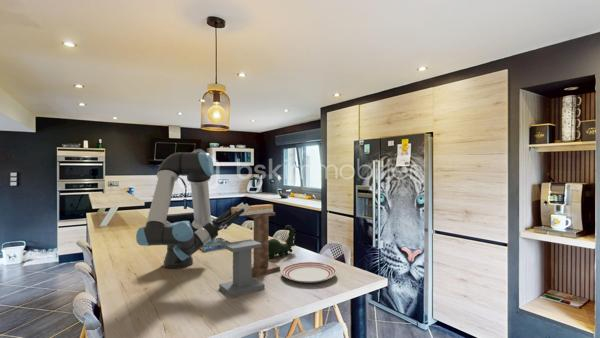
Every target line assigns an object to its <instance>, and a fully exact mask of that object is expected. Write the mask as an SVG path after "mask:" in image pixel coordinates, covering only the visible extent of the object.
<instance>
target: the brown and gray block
mask: <svg viewBox="0 0 600 338" xmlns="http://www.w3.org/2000/svg"><path fill="white" fill-rule="evenodd" d="M248 206H249V207H250V208H249V209H248V210H246V211H245V212H244V213H242V214H241V215H240V217H242V216H246V215H253V214H263V213H272V212H274V204H270V203H269V204H255V205H248ZM241 207H242V206H241ZM241 207H237V206H231V208H230V209H231V215H232V214H234V213H235V212H237V210H238V209H240V208H241Z"/></svg>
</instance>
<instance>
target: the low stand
mask: <svg viewBox="0 0 600 338" xmlns="http://www.w3.org/2000/svg"><path fill="white" fill-rule="evenodd" d="M259 247H262V243H259V242H256V241H254V239H245V240H239V241H231V242H225V243H222V248H224V249H226V250H227V251H230V252H232V281H227V282H223V283H220V284H219V290H220V291H222V292H223V293H224V294H226V295H227V296H228V297H229V298H231V299H233V298H236V297H239V296H244V295H246V294H251V293H254V292H258V291H261V290H265V287H266V286H265V285H266V284H265V283H263V282H262V281H260V280H258V279H257V278H255V277H252V276H251V265H252V253H253V252H252V249H253V250H254V248H259Z"/></svg>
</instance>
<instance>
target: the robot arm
mask: <svg viewBox="0 0 600 338" xmlns="http://www.w3.org/2000/svg"><path fill="white" fill-rule="evenodd" d="M156 172H157V173H156V178H157V181H156V185H155V188H154V189H155V190H154V193H153V196H152V201H151V203H150V209H149V210H148V211H149V212H148V215H147V220H146V223H145V226H141V227H139V228H138V229H137V230H136V235H135V236H136V237H135V239H136V243H137V244H138V245H139V246H145V247H146V246H147V247H150V246H166V253H165V257H164V259H163V267H164V268H166V269H181V268H182V269H183V268H186V267H189V266H192V265H193V263H194V258H193V256H192V255H193V254H194V253H196V252H198V251H199V250H201V248H203V247H204V246H209V245H214V244H215V243H216V239H217V237H218V236H219V231H221V230H227V229H228V228H229V227H230V226H231V225H232V224H234V223H235V222H236V221H238V220H239V219H240V218H241V216H240V215H241V214H242V213H244V212H245V211H246V210H248V209H249V208H250V207H249V206H250V205H249V204H248V203H245V204H244V202H241V203H240V204H238V205H237V206H236V207H241V206H242V207H241V208H240V209H238V210H237V212H235V213H234V214H232V215H231V208H229V209H228V210H227V211H225V212H224V213H222V214H221V215H219V216H218V217H217V218H215V219H213V217H212V215H211V204H210V190H209V188H210V186H209V181H210V179H211V178H212V176H214V162H213V158H212V155H211V154H209V153H208V152H201V151H200V152H175V153H172V154H170V155H169V156H168V157H166V158H165V159H164V160H163V161H162V162H161V163H160V165H159V168H158V170H157V171H156ZM181 176H182V177H183V176H185V177H186V179H187V180H186V181H187V182H189V183H190V188H191V189H190V190H191V200H192V210H193V217H194V219H193V221H192V223H191V222H190V220H182V221H175V222H172V223H170V224H169V225H167V226H166V222H167V218H168V214H169V209H170V205H171V200H172V196H173V192H174V188H175V182H177V181H178V179H179V177H181Z"/></svg>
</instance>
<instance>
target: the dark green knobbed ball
mask: <svg viewBox="0 0 600 338" xmlns="http://www.w3.org/2000/svg"><path fill="white" fill-rule="evenodd" d="M286 229H288V236H287V240H286V241H285V243H282V242H280V241H279V240H278V239H276V238H271V239H268V259H269V258H270V259H274V258H275V256H276V255H279V256H280V257H283V256H284V255H285V256H288V255H289V253H292V252H293V249H292V247H295V246H296V244H295V243H294V241H296V238H295V237H296V236H297V234H296V233H295V232H296V231H297V230H296V229H295V228H293V227H292V225H290V224H287V225H285V227H284V230H286Z"/></svg>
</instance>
